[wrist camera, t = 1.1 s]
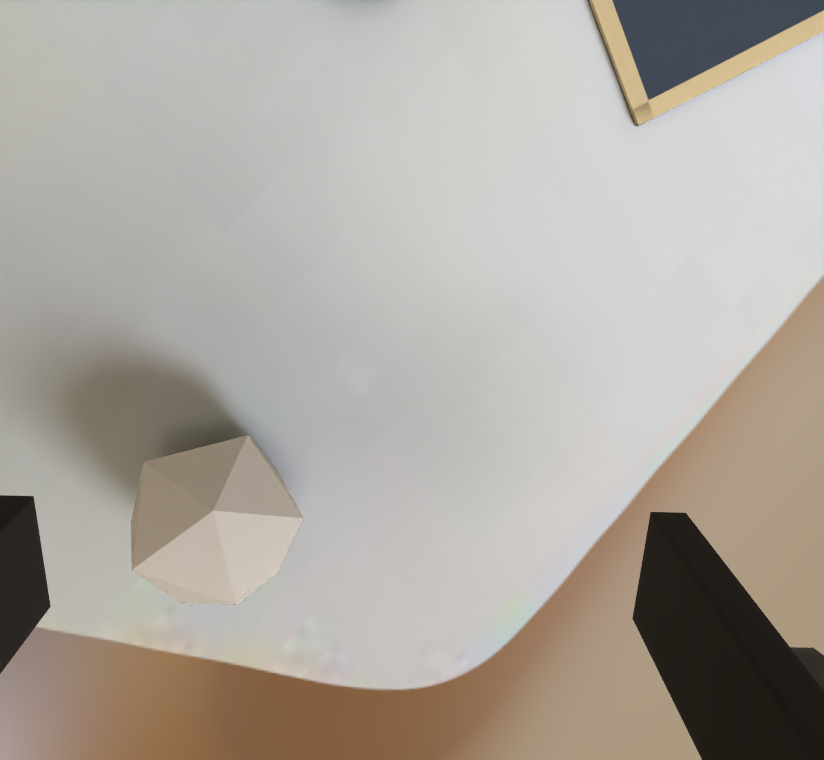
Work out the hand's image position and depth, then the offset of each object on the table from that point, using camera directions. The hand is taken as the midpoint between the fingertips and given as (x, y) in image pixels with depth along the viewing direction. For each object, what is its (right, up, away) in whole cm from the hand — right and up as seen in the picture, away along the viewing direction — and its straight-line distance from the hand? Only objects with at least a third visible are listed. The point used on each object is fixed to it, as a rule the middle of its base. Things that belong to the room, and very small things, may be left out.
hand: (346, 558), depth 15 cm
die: (-9, -2, +26) cm, 28 cm away
